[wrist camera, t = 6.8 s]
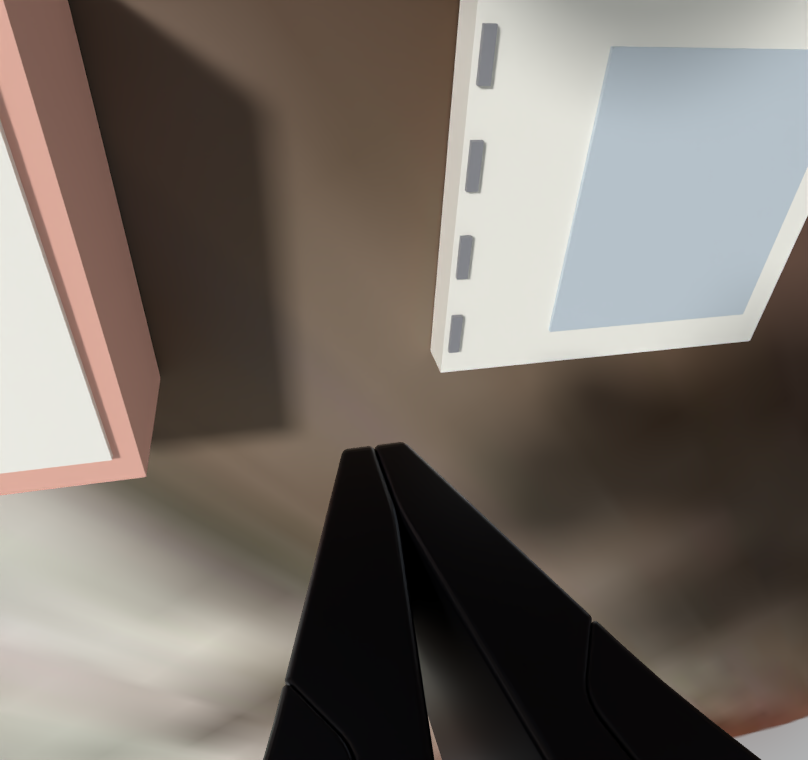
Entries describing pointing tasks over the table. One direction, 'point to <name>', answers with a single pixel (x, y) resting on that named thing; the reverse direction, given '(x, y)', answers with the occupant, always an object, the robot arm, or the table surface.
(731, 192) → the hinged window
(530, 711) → the robot arm
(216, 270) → the table surface
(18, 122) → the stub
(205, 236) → the table surface
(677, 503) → the table surface
